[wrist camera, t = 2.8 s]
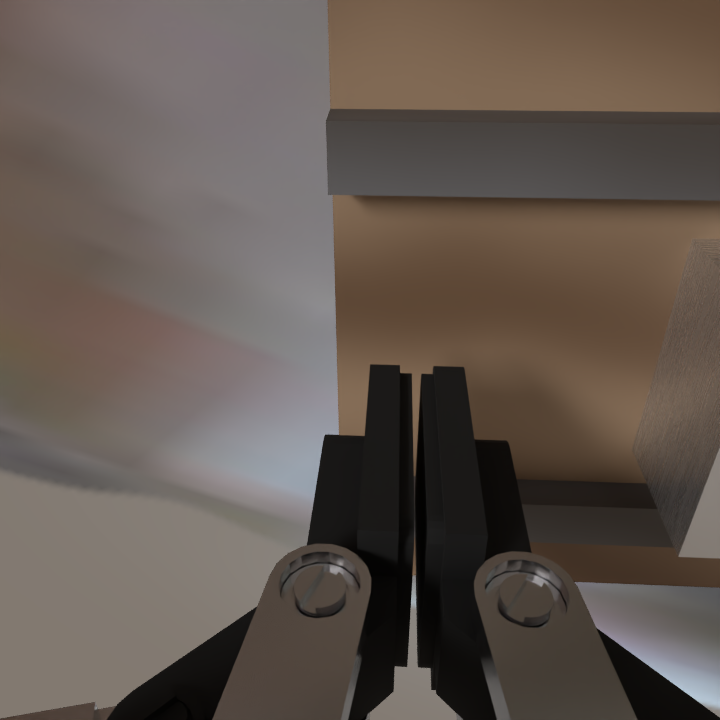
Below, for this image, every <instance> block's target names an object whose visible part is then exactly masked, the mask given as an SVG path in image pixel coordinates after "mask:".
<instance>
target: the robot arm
mask: <svg viewBox="0 0 720 720" xmlns="http://www.w3.org/2000/svg"><path fill="white" fill-rule="evenodd" d="M414 532H415V553H416V605H417V652H418V653H417V654H418V667H421V668H431V690H436V694H437V695H438V696H439V697H440V698H441V699H442V700H443V701H444V702H445V703H446V704H447V705H449V706H450V707H451V708H452V709H453V710H454V711H455V712H456V713H457V714H456V716H457V720H720V718H719V717H718V716H717V715H715V714H714V713H713V712H711V711H710V710H708V709H707V708H706V707H704V706H703V705H702V704H700V703H699V702H697V701H696V700H695V699H693V698H692V697H691V696H689V695H688V694H686V693H685V692H684V691H682V690H681V689H680V688H678V687H677V686H675V685H674V684H673V683H671V682H670V681H669V680H667V679H666V678H664V677H663V676H662V675H660V674H659V673H658V672H656V671H655V670H653V669H652V668H651V667H649V666H648V665H647V664H645V663H644V662H642V661H641V660H640V659H638V658H637V657H636V656H634V655H633V654H631V653H630V652H629V651H627V650H626V649H625V648H623V647H622V646H620V645H619V644H618V643H616V642H615V641H614V640H612V639H611V638H610V637H608V636H607V635H605V634H604V633H603V632H601V631H600V630H599V629H597V628H596V626H595V624H594V622H593V620H592V618H591V615H590V613H589V611H588V609H587V606H586V604H585V602H584V600H583V598H582V595H581V593H580V591H579V589H578V587H577V585H576V584H575V582H574V581H573V579H572V578H571V576H570V575H569V574H568V573H567V572H566V571H565V570H564V569H563V568H561V567H560V566H559V565H558V564H556V563H554V562H553V561H551V560H549V559H547V558H545V557H543V556H540V555H536V554H533V553H532V551H531V547H530V542H529V537H528V532H527V527H526V522H525V518H524V513H523V508H522V503H521V498H520V493H519V489H518V484H517V479H516V474H515V469H514V465H513V460H512V455H511V450H510V446H509V443H508V442H507V440H477V439H474V432H473V425H472V418H471V411H470V404H469V396H468V389H467V382H466V375H465V369H464V367H453V366H433V372H432V374H421V384H420V402H419V421H418V439H417V457H416V475H415V511H414V458H413V406H412V373H400V365H380V364H370V372H369V385H368V398H367V411H366V424H365V436H354V435H325V437H324V441H323V447H322V453H321V460H320V466H319V472H318V479H317V485H316V492H315V498H314V504H313V511H312V517H311V523H310V530H309V536H308V542H307V546H303V547H300V548H298V549H296V550H294V551H292V552H290V553H288V554H287V555H286V556H284V557H283V558H282V559H281V560H280V561H279V562H278V563H277V564H276V566H275V567H274V569H273V571H272V572H271V574H270V576H269V579H268V581H267V584H266V586H265V588H264V591H263V593H262V596H261V598H260V601H259V603H258V606H257V607H256V608H254V609H253V610H251V611H250V612H248V613H247V614H245V615H244V616H242V617H241V618H239V619H238V620H237V621H235V622H234V623H232V624H231V625H230V626H228V627H227V628H225V629H223V630H222V631H220V632H219V633H217V634H216V635H214V636H213V637H212V638H210V639H209V640H207V641H206V642H204V643H203V644H201V645H200V646H198V647H197V648H195V649H194V650H192V651H191V652H190V653H188V654H187V655H185V656H183V657H182V658H181V659H179V660H178V661H176V662H175V663H173V664H172V665H170V666H169V667H167V668H166V669H164V670H163V671H161V672H160V673H159V674H157V675H155V676H154V677H153V678H151V679H150V680H148V681H147V682H145V683H144V684H142V685H141V686H139V687H138V688H136V689H135V690H133V691H132V692H131V693H130V694H129V695H128V696H126V697H125V698H124V699H123V700H122V701H121V702H119V704H117V706H114V707H108V708H103V709H98V708H97V705H96V703H95V702H93V703H87V704H81V705H76V706H70V707H64V708H59V709H53V710H47V711H41V712H35V713H30V714H24V715H19V716H13V717H7V718H1V719H0V720H370V712H371V711H372V710H373V709H374V708H375V707H376V706H378V705H379V704H380V703H381V702H382V701H383V700H384V699H386V697H388V696H389V695H390V694H391V693H392V692H393V689H394V666H401V667H407V659H408V643H409V626H410V608H411V591H412V574H413V556H414Z"/></svg>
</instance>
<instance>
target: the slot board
mask: <svg viewBox="0 0 720 720" xmlns="http://www.w3.org/2000/svg"><path fill="white" fill-rule="evenodd" d="M328 32H329V70H330V108H331V109H330V112H329V114H328V117H327V120H326V137H327V170H328V195H333V221H334V259H335V297H336V335H337V373H338V411H339V435H354V436H365V424H366V411H367V398H368V385H369V372H370V364H380V365H400V373H412V406H413V458H414V511H415V475H416V457H417V439H418V421H419V402H420V384H421V374H432V372H433V366H453V367H464V369H465V375H466V382H467V389H468V396H469V404H470V411H471V418H472V425H473V432H474V439H477V440H507V442H508V443H509V446H510V450H511V455H512V460H513V465H514V469H515V474H516V479H517V484H518V489H519V493H520V498H521V503H522V508H523V513H524V518H525V522H526V527H527V532H528V537H529V542H530V547H531V551H532V553H533V554H536V555H540V556H543V557H545V558H547V559H549V560H551V561H553V562H554V563H556V564H558V565H559V566H560V567H561V568H563V569H564V570H565V571H566V572H567V573H568V574H569V575H570V576H571V578H572V579H573V581H574V582H594V583H619V584H644V585H669V586H694V587H719V588H720V558H694V557H678V555H677V553H676V551H675V548H674V546H673V544H672V541H671V539H670V537H669V534H668V532H667V530H666V527H665V525H664V523H663V520H662V518H661V516H660V513H659V511H658V509H657V506H656V504H655V502H654V499H653V497H652V495H651V492H650V490H649V488H648V485H647V483H646V481H645V478H644V476H643V474H642V472H641V469H640V467H639V465H638V462H637V460H636V458H635V455H634V453H633V451H632V448H633V444H634V441H635V437H636V434H637V430H638V427H639V423H640V420H641V416H642V413H643V409H644V406H645V402H646V399H647V396H648V392H649V389H650V385H651V382H652V378H653V375H654V371H655V368H656V364H657V361H658V357H659V354H660V350H661V347H662V343H663V340H664V336H665V333H666V329H667V326H668V322H669V319H670V315H671V312H672V308H673V305H674V301H675V298H676V294H677V291H678V287H679V284H680V280H681V277H682V273H683V270H684V266H685V263H686V259H687V256H688V252H689V249H690V245H691V242H692V239H720V0H328ZM412 575H416V553H415V532H414V556H413V574H412Z"/></svg>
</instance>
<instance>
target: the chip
mask: <svg viewBox="0 0 720 720" xmlns="http://www.w3.org/2000/svg"><path fill="white" fill-rule="evenodd" d="M632 451H633V453H634V455H635V458H636V460H637V462H638V465H639V467H640V469H641V472H642V474H643V476H644V478H645V481H646V483H647V485H648V488H649V490H650V492H651V495H652V497H653V499H654V502H655V504H656V506H657V509H658V511H659V513H660V516H661V518H662V520H663V523H664V525H665V527H666V530H667V532H668V534H669V537H670V539H671V541H672V544H673V546H674V548H675V551H676V553H677V555H678V557H694V558H720V239H692V242H691V245H690V249H689V252H688V256H687V259H686V263H685V266H684V270H683V273H682V277H681V280H680V284H679V287H678V291H677V294H676V298H675V301H674V305H673V308H672V312H671V315H670V319H669V322H668V326H667V329H666V333H665V336H664V340H663V343H662V347H661V350H660V354H659V357H658V361H657V364H656V368H655V371H654V375H653V378H652V382H651V385H650V389H649V392H648V396H647V399H646V402H645V406H644V409H643V413H642V416H641V420H640V423H639V427H638V430H637V434H636V437H635V441H634V444H633V448H632Z"/></svg>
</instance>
